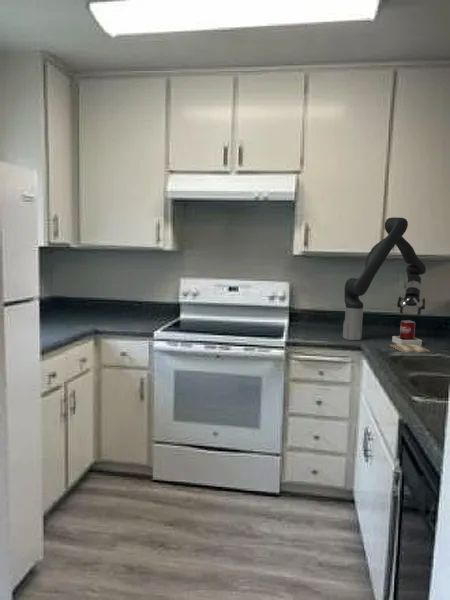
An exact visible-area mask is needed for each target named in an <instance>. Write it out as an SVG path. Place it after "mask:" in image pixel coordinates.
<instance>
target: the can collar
mask: <svg viewBox="0 0 450 600" xmlns="http://www.w3.org/2000/svg"><path fill="white" fill-rule="evenodd" d="M391 337H392V340H391V342H392V343H393V344H412V345H418V346H421V347H423V346H422V345H423V344H422V343H423V340H422V339H420V338H417V337H414V340H402V339H400V335H393V336H391Z"/></svg>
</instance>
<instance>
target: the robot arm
mask: <svg viewBox="0 0 450 600" xmlns="http://www.w3.org/2000/svg"><path fill="white" fill-rule="evenodd" d="M408 227H409V222H408V220H407V219H406V218H404V217H395V216H394V217H392V216H391V217H389V218H386V220H385V221H384V230H385V232H386V233H387V236H386V237H384V238H383V239H381V240H380V241H378V243H376V244H375V245H373V247H372V248H371V250H369V252H368V253H367V255H366V257H365V264H364V265H365V267H364V270H363V272H362V273H361V274H360V276H359V277H356V278H355V277H353V278H352V277H350V278H349V279H347V280H346V282H345V284H344V303H345V312H344V320H343V327H342V328H343V329H342V338H343V339H345V340H351V341H359V340H362V337H363V336H362V333H363V330H362V329H363V317H364V302H362V301H361V300H360V297H362V296H363V295H365V294H366V293H367V291H368V289H369V287H370V285H371V283H372V282H373V280H374V278H375V276H376V275H377V273H378V271H379V270H380V268H381V267H382V265H383V264H384V262H385V260H386V259H387V258H388V257H389V254H390V253H391V251H392V250H393V248H394V247H395V246H396V247H397V248H398V251H399V252H400V254H401V256H402V258H403V260H404V262H405V264H407V266H406V269H405V272H406V275H407V283H406V287H405V294H404V297H402V296H398V299H397V305H396V306H397V308H399V313H400V314H402V315H403V313H404V311H403V310H404V308H405V307H407V306H408V307H410V306H412V307H415V308H416V309H417V316H420V315H421V314H422V313H421V312H422V310H425V309H426V298H424V297H423V298H422V299H421V298H420V295H421V284H422V283H421V282H422V277H421V276H422V275H424V274H425V273H426V272H427V269H426V265H425V263H423V261H422V260H421V259H420V258H419V257H418V255H417V254H416V251H415V249H414V247H413V246H412V245H411V243H409V241H407V240H406V239H405V238H404V236H403V235H405V233H406V232H407V229H408ZM420 303H421V304H422V305H421V304H420Z"/></svg>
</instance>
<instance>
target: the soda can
mask: <svg viewBox="0 0 450 600" xmlns="http://www.w3.org/2000/svg"><path fill="white" fill-rule="evenodd" d="M415 335H416V322H415V321H413V320H401V321H400V328H399V336H400V339H402V340H414V337H415ZM415 338H416V337H415Z"/></svg>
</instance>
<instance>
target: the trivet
mask: <svg viewBox="0 0 450 600" xmlns="http://www.w3.org/2000/svg"><path fill="white" fill-rule="evenodd" d="M390 346H391V347H390ZM389 347H390V348H392V347H393V349H394V348H395V350H396V349H397V350H396V351H398V350H399V351H398V352H400V351H401V353H419V352H430V353H431V351H430V350H429V349H427V348H425V347H423V346H418V345H412V344H396V343H393V344H389Z"/></svg>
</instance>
